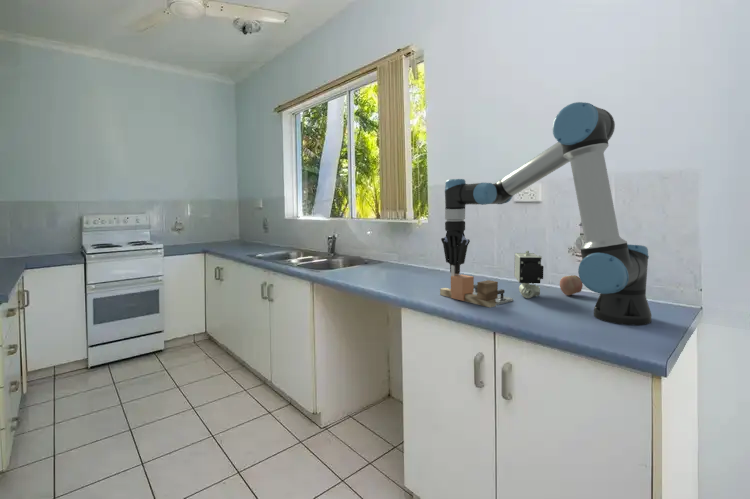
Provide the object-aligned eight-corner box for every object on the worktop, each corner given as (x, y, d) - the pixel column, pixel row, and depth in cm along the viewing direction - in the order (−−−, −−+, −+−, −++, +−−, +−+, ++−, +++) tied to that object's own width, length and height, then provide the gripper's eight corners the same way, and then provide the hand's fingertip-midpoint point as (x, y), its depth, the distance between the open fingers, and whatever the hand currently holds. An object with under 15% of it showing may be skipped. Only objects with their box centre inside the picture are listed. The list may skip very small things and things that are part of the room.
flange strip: (513, 301, 147) (513, 298, 147) (497, 304, 142) (497, 301, 142) (468, 290, 165) (468, 288, 165) (452, 294, 160) (452, 291, 160)
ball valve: (544, 302, 144) (546, 253, 142) (520, 301, 146) (521, 253, 144) (535, 291, 161) (536, 248, 159) (513, 291, 163) (514, 248, 161)
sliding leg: (483, 296, 153) (483, 274, 152) (462, 301, 147) (462, 278, 146) (471, 293, 158) (471, 272, 157) (450, 298, 152) (450, 276, 151)
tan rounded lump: (581, 294, 156) (582, 274, 155) (582, 298, 149) (583, 277, 148) (559, 292, 159) (559, 272, 158) (559, 296, 152) (559, 276, 151)
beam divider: (508, 303, 144) (509, 280, 143) (487, 308, 137) (487, 284, 136) (457, 291, 164) (458, 271, 163) (437, 295, 158) (437, 274, 157)
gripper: (475, 220, 147) (474, 283, 150) (449, 219, 158) (449, 278, 161) (460, 221, 143) (460, 285, 146) (435, 220, 154) (436, 280, 157)
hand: (454, 281), depth 153 cm, fingers closed
